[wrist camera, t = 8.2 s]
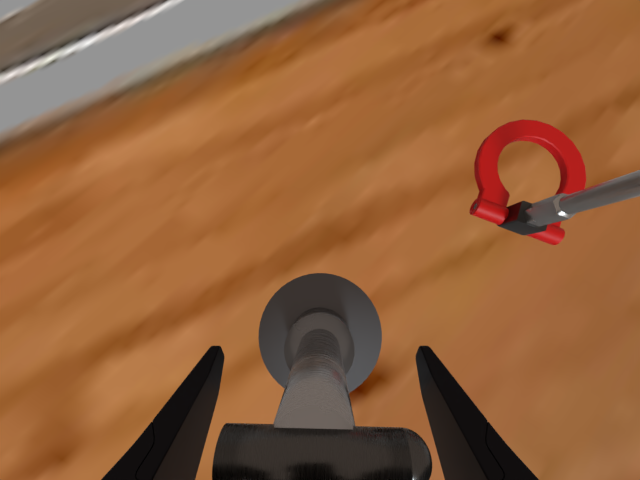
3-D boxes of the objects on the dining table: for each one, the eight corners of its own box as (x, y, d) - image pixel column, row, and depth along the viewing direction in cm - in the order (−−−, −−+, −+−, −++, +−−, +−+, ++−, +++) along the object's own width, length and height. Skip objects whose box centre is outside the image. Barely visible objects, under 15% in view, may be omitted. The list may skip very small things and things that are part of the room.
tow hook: (486, 112, 24) (454, 213, 22) (686, -83, 11) (641, 122, 10) (583, 147, 24) (557, 252, 22) (903, -12, 11) (887, 210, 9)
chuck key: (364, 370, 20) (443, 575, 7) (284, 368, 21) (207, 567, 7) (364, 308, 21) (439, 384, 7) (286, 306, 21) (216, 379, 7)
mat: (400, 306, 22) (402, 307, 21) (347, 419, 21) (347, 423, 20) (294, 252, 22) (294, 252, 21) (238, 360, 21) (236, 363, 21)
